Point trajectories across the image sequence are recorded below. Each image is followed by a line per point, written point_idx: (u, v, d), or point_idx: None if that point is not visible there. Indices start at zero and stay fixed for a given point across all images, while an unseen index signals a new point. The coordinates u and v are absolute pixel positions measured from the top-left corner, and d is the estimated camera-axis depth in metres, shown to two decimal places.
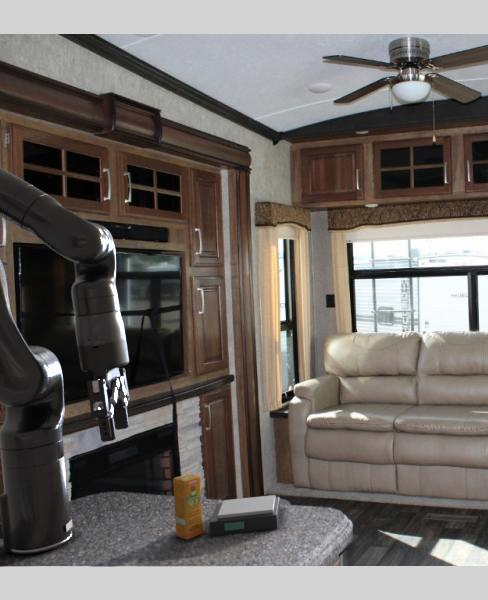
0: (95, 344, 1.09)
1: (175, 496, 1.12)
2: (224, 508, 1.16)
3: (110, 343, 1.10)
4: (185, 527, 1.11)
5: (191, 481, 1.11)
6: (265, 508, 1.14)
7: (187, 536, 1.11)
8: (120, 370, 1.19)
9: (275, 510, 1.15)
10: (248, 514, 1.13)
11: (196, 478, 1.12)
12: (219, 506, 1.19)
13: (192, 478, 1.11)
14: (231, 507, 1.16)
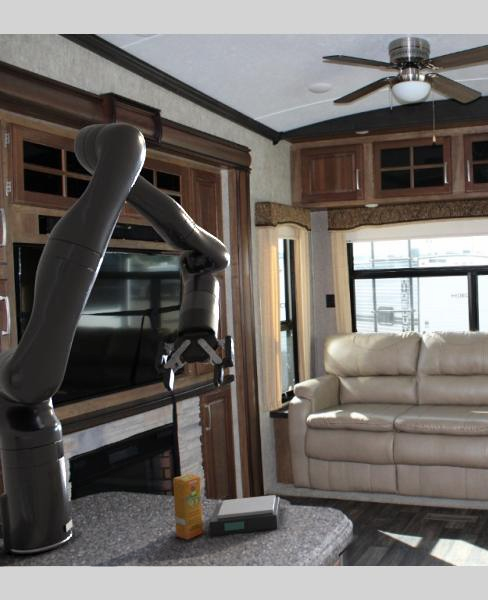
0: (217, 318, 1.34)
1: (175, 496, 1.12)
2: (224, 508, 1.16)
3: None
4: (185, 527, 1.11)
5: (191, 481, 1.11)
6: (265, 508, 1.14)
7: (187, 536, 1.11)
8: None
9: (275, 510, 1.15)
10: (248, 514, 1.13)
11: (196, 478, 1.12)
12: (219, 506, 1.19)
13: (192, 478, 1.11)
14: (231, 507, 1.16)
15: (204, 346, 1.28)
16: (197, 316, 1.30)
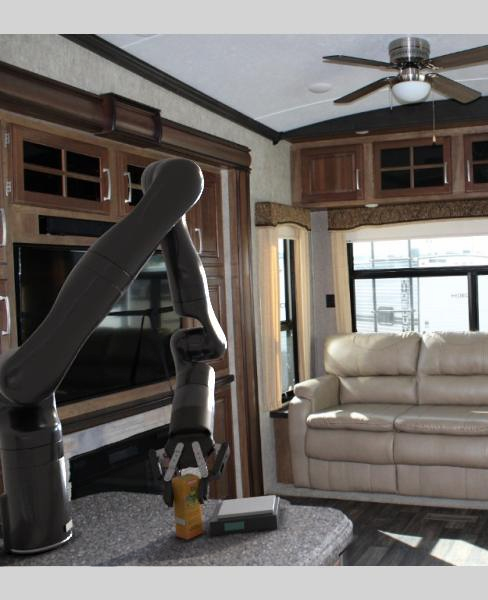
0: (213, 415, 1.22)
1: (174, 496, 1.12)
2: (224, 508, 1.16)
3: None
4: (184, 527, 1.11)
5: (190, 481, 1.11)
6: (265, 508, 1.14)
7: (187, 536, 1.11)
8: None
9: (275, 510, 1.15)
10: (248, 514, 1.13)
11: (195, 478, 1.12)
12: (219, 506, 1.19)
13: (191, 478, 1.11)
14: (231, 507, 1.16)
15: (196, 452, 1.15)
16: (191, 415, 1.17)
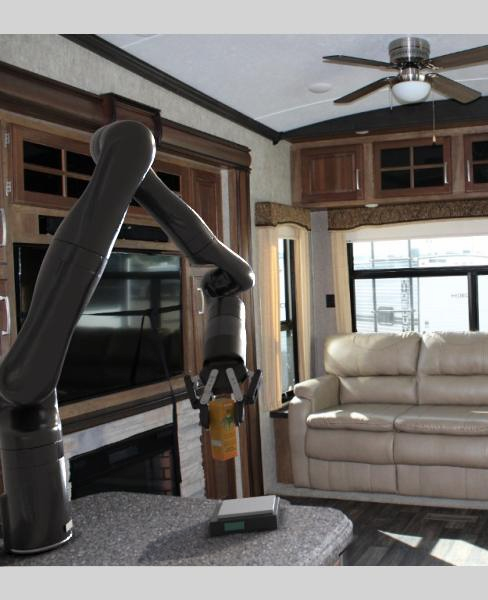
0: (245, 345, 1.24)
1: (210, 419, 1.14)
2: (224, 508, 1.16)
3: None
4: (221, 448, 1.13)
5: (226, 403, 1.13)
6: (265, 508, 1.14)
7: (223, 457, 1.13)
8: None
9: (275, 510, 1.15)
10: (248, 514, 1.13)
11: (231, 401, 1.14)
12: (219, 506, 1.19)
13: (227, 401, 1.14)
14: (231, 507, 1.16)
15: (231, 377, 1.17)
16: (225, 343, 1.20)
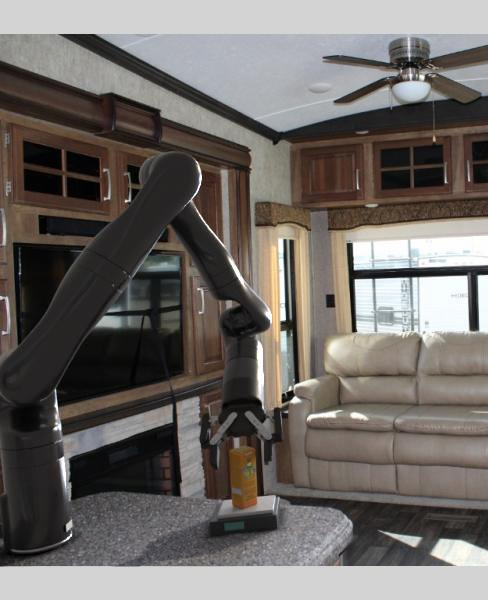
0: (263, 387, 1.26)
1: (231, 467, 1.16)
2: (224, 508, 1.16)
3: None
4: (241, 496, 1.15)
5: (246, 452, 1.15)
6: (265, 508, 1.14)
7: (243, 506, 1.15)
8: None
9: (275, 510, 1.15)
10: (248, 514, 1.13)
11: (251, 450, 1.16)
12: (219, 506, 1.19)
13: (248, 450, 1.15)
14: (231, 507, 1.16)
15: (252, 420, 1.19)
16: (244, 386, 1.21)
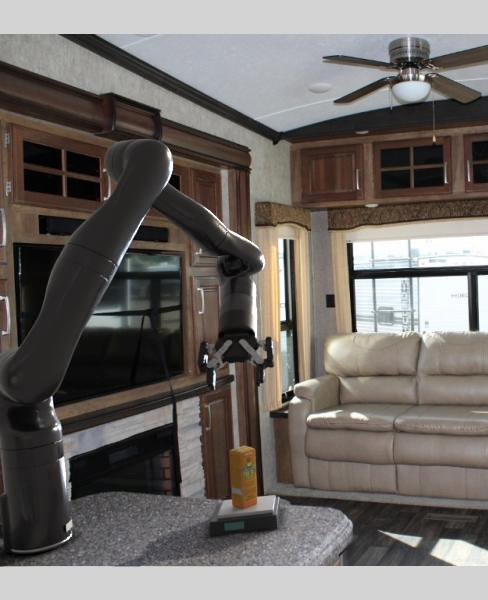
0: (256, 320, 1.37)
1: (231, 467, 1.16)
2: (224, 508, 1.16)
3: None
4: (241, 496, 1.15)
5: (246, 452, 1.15)
6: (265, 508, 1.14)
7: (243, 506, 1.15)
8: None
9: (275, 510, 1.15)
10: (248, 514, 1.13)
11: (251, 450, 1.16)
12: (219, 506, 1.19)
13: (248, 450, 1.15)
14: (231, 507, 1.16)
15: (246, 347, 1.30)
16: (238, 317, 1.32)
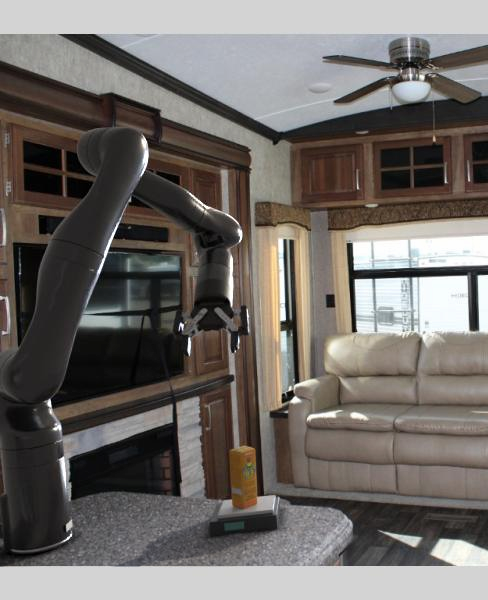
0: (232, 290, 1.38)
1: (231, 467, 1.16)
2: (224, 508, 1.16)
3: None
4: (241, 496, 1.15)
5: (246, 452, 1.15)
6: (265, 508, 1.14)
7: (243, 506, 1.15)
8: None
9: (275, 510, 1.15)
10: (248, 514, 1.13)
11: (251, 450, 1.16)
12: (219, 506, 1.19)
13: (248, 450, 1.15)
14: (231, 507, 1.16)
15: (221, 315, 1.31)
16: (213, 286, 1.34)
